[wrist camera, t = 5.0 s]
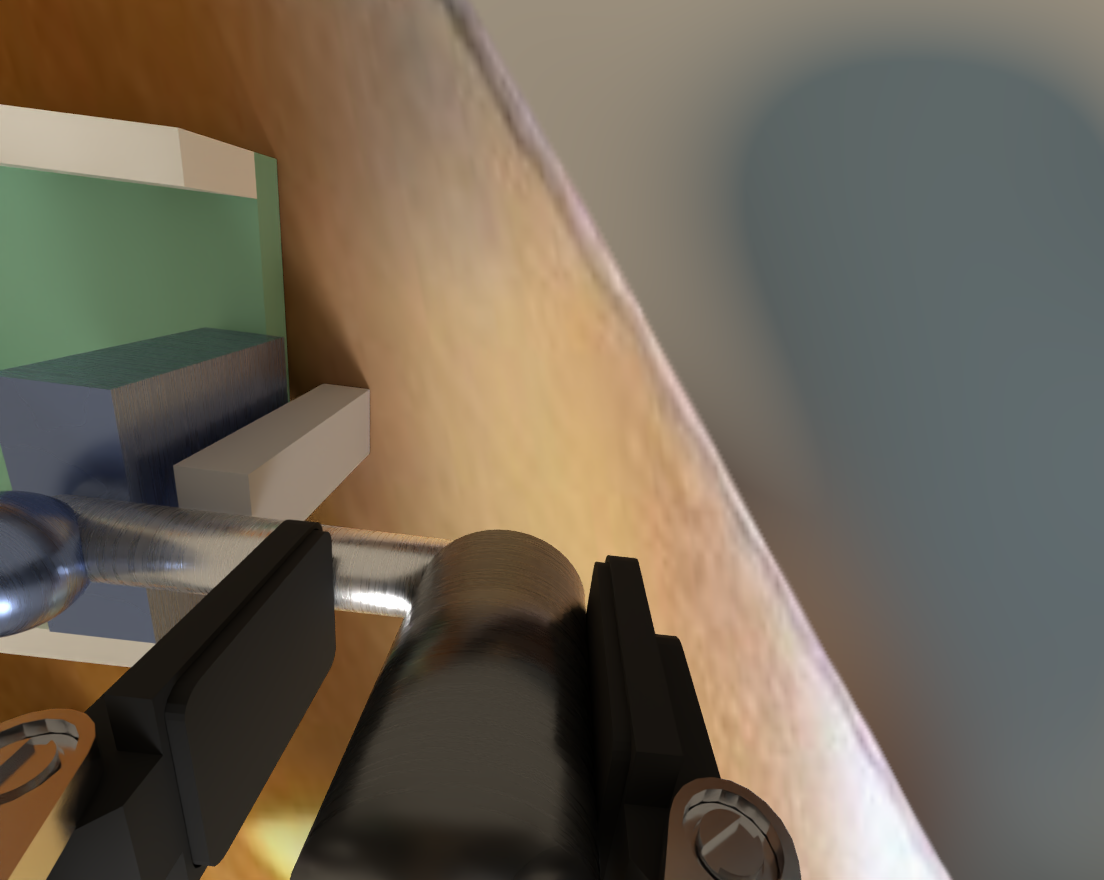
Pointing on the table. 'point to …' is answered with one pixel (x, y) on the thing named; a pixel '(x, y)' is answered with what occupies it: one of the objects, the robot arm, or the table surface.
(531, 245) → the table surface
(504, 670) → the table football player
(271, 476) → the pitch
